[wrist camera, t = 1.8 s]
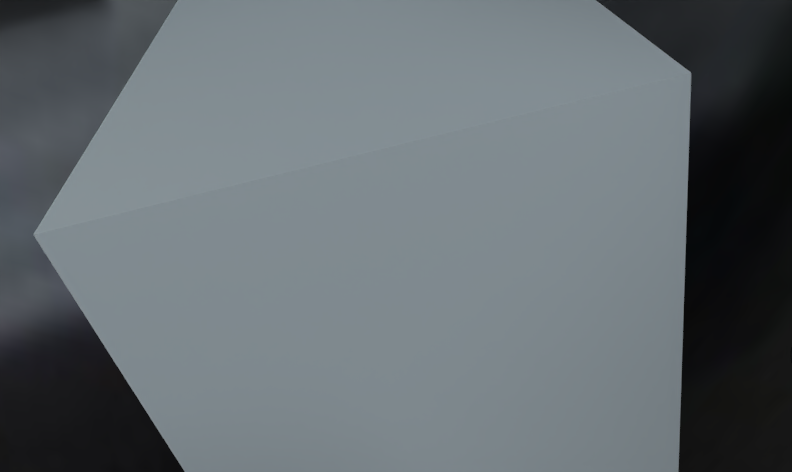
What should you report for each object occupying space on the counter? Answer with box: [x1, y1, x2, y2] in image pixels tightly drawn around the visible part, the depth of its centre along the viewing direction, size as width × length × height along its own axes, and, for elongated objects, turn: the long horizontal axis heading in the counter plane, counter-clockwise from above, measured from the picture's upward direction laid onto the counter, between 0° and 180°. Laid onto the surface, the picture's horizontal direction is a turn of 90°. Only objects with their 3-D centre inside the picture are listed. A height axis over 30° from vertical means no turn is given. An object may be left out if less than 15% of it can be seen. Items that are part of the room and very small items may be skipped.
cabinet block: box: [33, 0, 691, 472], centre depth 12 cm, size 6×9×8 cm, turn 13°
